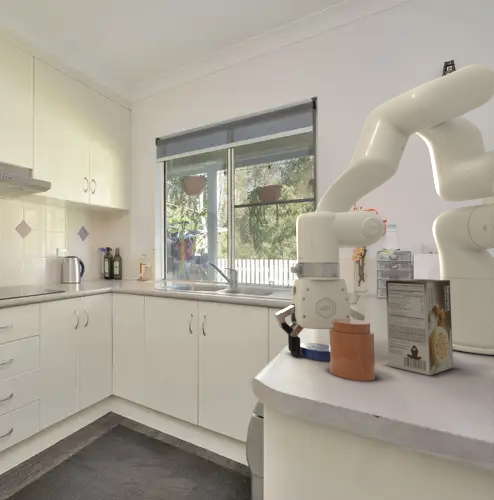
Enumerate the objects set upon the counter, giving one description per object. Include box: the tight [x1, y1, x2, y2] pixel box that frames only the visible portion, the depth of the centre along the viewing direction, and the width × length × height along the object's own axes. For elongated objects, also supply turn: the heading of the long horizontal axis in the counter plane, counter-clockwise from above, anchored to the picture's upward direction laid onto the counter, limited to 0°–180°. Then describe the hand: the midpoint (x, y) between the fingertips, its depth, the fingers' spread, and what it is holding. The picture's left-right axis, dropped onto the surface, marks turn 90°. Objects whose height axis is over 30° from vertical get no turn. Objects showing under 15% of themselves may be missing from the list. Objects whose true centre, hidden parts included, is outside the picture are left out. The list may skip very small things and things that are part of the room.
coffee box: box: [385, 278, 454, 376], centre depth 62 cm, size 9×6×16 cm
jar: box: [328, 318, 376, 382], centre depth 58 cm, size 6×6×9 cm
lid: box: [300, 342, 330, 362], centre depth 69 cm, size 7×7×2 cm
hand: (319, 355), depth 69 cm, fingers open, 9 cm apart
